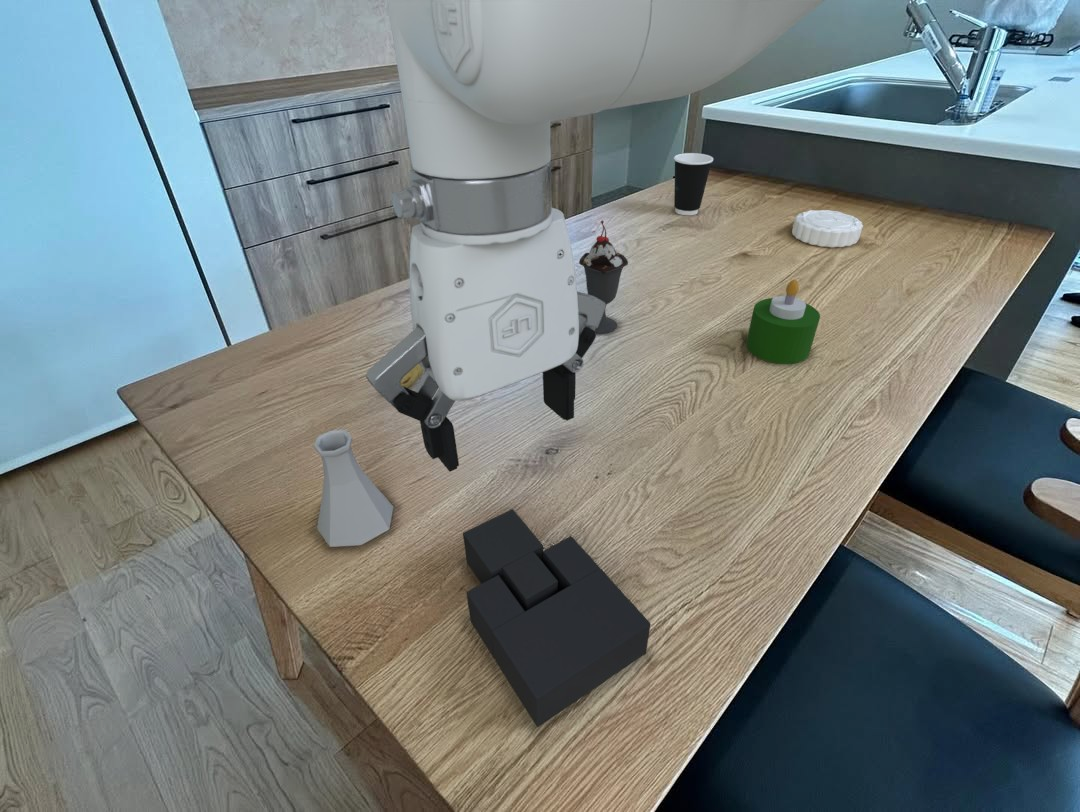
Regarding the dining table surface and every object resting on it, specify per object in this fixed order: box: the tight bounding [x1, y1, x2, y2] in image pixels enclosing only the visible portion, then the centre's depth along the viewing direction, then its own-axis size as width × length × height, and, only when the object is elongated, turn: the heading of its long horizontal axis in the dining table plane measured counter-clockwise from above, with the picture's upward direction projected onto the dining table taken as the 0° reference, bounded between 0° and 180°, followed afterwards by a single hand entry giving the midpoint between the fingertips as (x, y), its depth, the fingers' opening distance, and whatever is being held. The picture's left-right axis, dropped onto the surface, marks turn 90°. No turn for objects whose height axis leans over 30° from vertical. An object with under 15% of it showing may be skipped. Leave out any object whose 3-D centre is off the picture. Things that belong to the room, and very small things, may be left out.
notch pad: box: [465, 535, 652, 728], centre depth 45 cm, size 10×10×4 cm
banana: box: [401, 364, 425, 389], centre depth 74 cm, size 10×2×4 cm, turn 148°
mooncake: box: [791, 209, 864, 249], centre depth 112 cm, size 12×12×4 cm
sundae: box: [578, 220, 629, 334], centre depth 82 cm, size 7×7×15 cm
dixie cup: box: [673, 152, 714, 216], centre depth 123 cm, size 8×8×11 cm
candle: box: [745, 279, 821, 365], centre depth 78 cm, size 8×8×10 cm
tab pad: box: [462, 508, 558, 611], centre depth 49 cm, size 9×5×4 cm, turn 33°
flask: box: [313, 429, 395, 548], centre depth 54 cm, size 7×7×10 cm
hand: (504, 434), depth 43 cm, fingers open, 9 cm apart
